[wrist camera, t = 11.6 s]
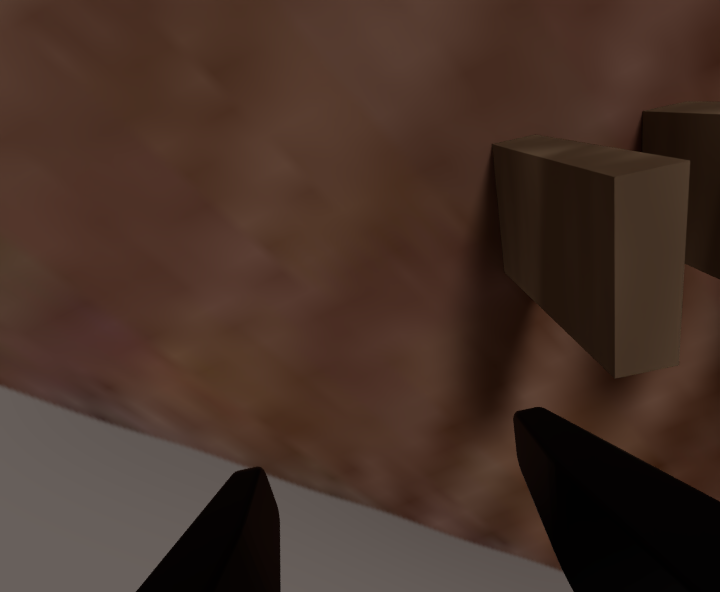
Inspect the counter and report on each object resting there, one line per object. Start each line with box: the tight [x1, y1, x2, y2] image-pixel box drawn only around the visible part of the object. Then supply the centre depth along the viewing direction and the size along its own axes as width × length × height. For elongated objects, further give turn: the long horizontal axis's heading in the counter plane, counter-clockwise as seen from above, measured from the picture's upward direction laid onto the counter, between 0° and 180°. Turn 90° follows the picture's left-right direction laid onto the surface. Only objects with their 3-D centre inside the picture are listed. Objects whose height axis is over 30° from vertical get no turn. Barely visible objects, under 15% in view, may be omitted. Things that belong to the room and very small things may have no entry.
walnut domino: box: [492, 135, 690, 379], centre depth 15 cm, size 2×5×8 cm, turn 12°
